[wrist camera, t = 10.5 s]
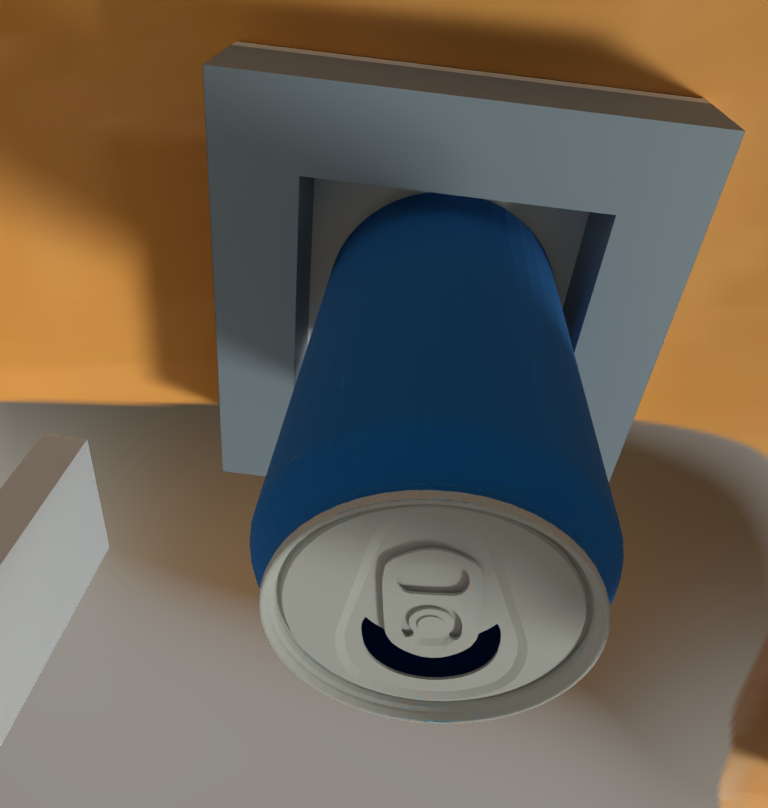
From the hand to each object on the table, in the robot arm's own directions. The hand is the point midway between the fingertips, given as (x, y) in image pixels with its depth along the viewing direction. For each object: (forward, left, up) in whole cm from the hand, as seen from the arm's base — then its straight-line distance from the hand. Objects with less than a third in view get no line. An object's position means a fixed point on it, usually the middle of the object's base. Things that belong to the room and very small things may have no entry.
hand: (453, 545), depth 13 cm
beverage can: (0, 0, -11) cm, 11 cm away
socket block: (0, 0, -11) cm, 11 cm away
